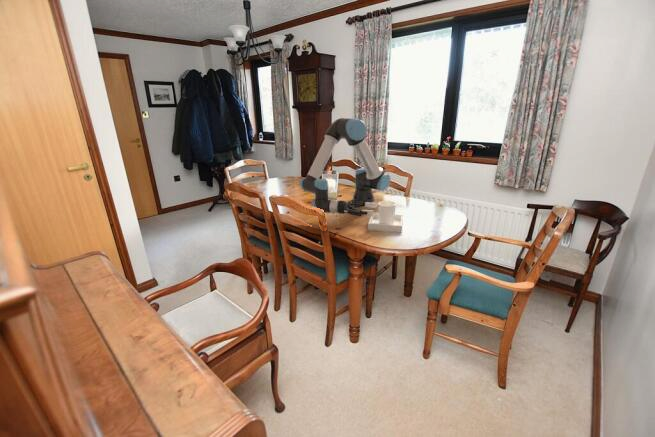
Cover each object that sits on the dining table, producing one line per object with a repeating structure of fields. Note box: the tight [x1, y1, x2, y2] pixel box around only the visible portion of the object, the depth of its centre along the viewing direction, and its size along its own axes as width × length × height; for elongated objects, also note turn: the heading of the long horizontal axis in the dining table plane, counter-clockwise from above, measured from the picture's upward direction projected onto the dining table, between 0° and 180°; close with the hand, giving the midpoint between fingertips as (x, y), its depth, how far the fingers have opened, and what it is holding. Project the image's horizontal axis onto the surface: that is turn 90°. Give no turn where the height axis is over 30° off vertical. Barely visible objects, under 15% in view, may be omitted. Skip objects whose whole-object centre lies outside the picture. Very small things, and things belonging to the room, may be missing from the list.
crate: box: [367, 212, 404, 234], centre depth 175 cm, size 18×18×4 cm
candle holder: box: [377, 200, 397, 225], centre depth 173 cm, size 10×10×12 cm
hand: (375, 209), depth 174 cm, fingers open, 13 cm apart
